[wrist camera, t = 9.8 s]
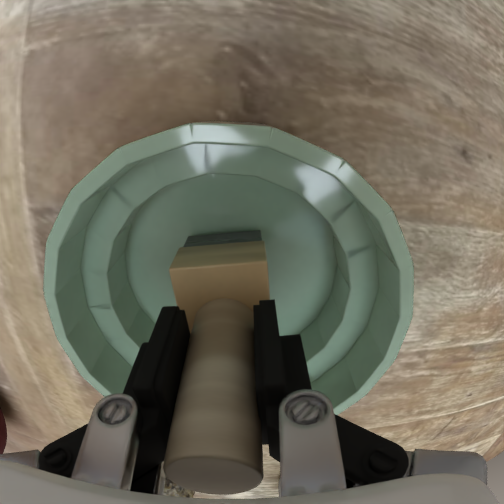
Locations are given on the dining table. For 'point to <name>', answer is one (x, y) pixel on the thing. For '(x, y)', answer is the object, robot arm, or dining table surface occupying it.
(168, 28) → the dining table surface
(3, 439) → the decorative ball
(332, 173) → the bowl
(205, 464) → the wooden stamp
